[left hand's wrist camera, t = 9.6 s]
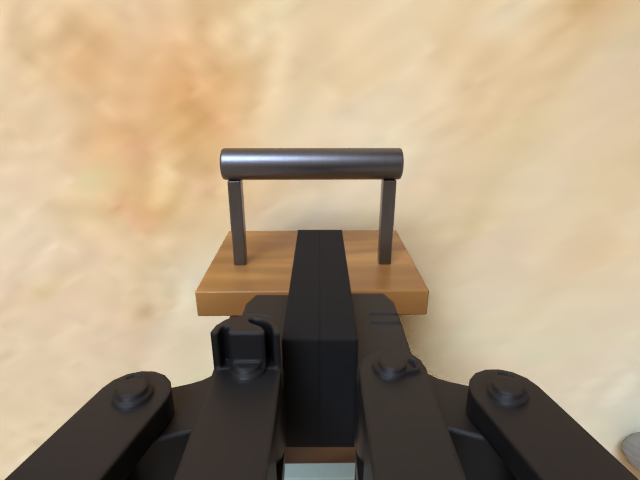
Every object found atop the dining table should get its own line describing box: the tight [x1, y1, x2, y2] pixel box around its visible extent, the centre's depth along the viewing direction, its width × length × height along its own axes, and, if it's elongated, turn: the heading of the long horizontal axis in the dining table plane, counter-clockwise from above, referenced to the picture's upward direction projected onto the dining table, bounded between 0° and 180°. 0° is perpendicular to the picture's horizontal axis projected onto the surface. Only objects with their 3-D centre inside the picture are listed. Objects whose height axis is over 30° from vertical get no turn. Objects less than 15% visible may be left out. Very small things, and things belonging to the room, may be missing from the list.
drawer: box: [195, 148, 429, 464], centre depth 24 cm, size 20×10×8 cm, turn 0°
